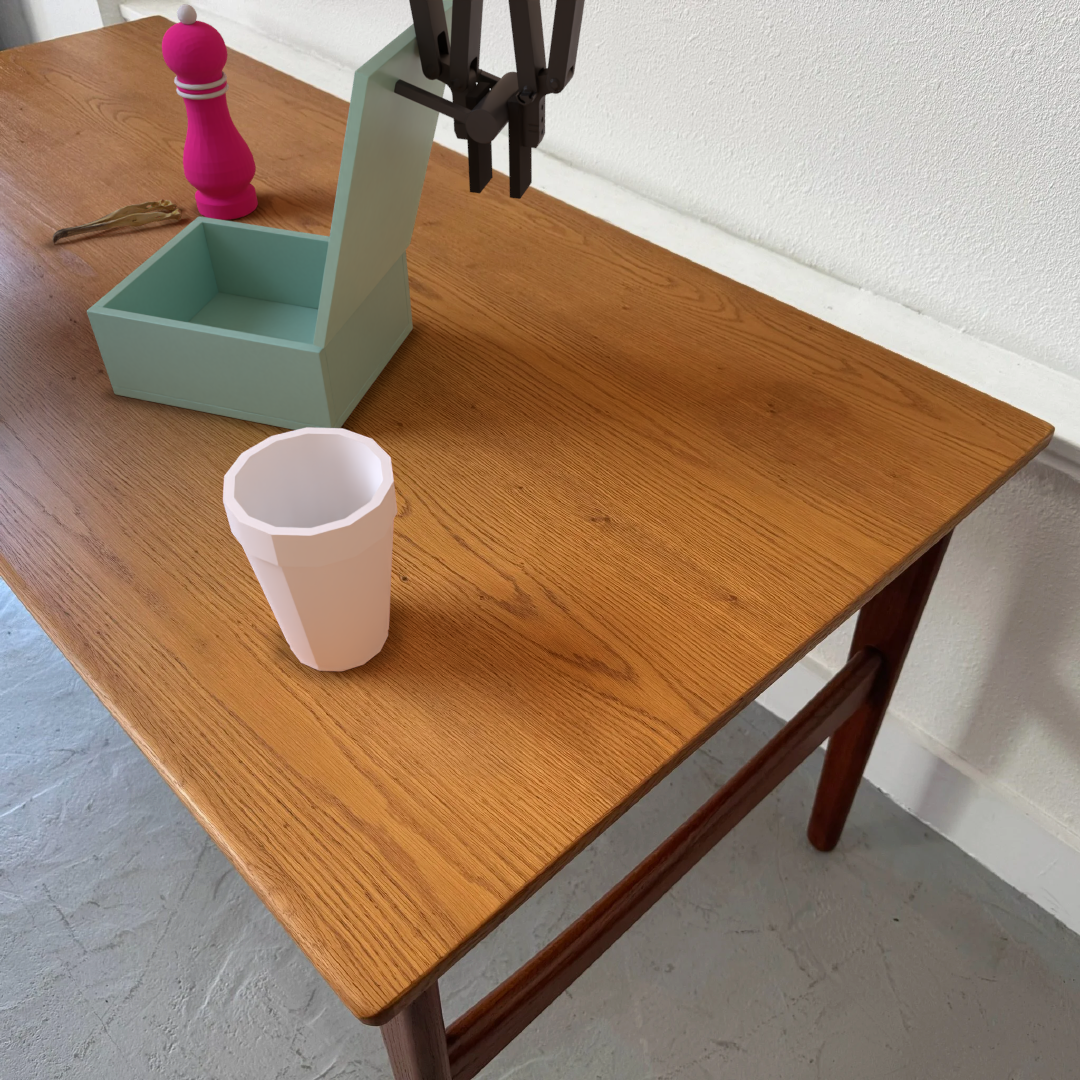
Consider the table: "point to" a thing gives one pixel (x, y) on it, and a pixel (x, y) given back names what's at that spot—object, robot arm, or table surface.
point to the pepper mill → (209, 120)
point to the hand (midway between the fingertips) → (501, 186)
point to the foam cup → (319, 539)
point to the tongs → (124, 218)
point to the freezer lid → (390, 168)
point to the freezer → (246, 328)
